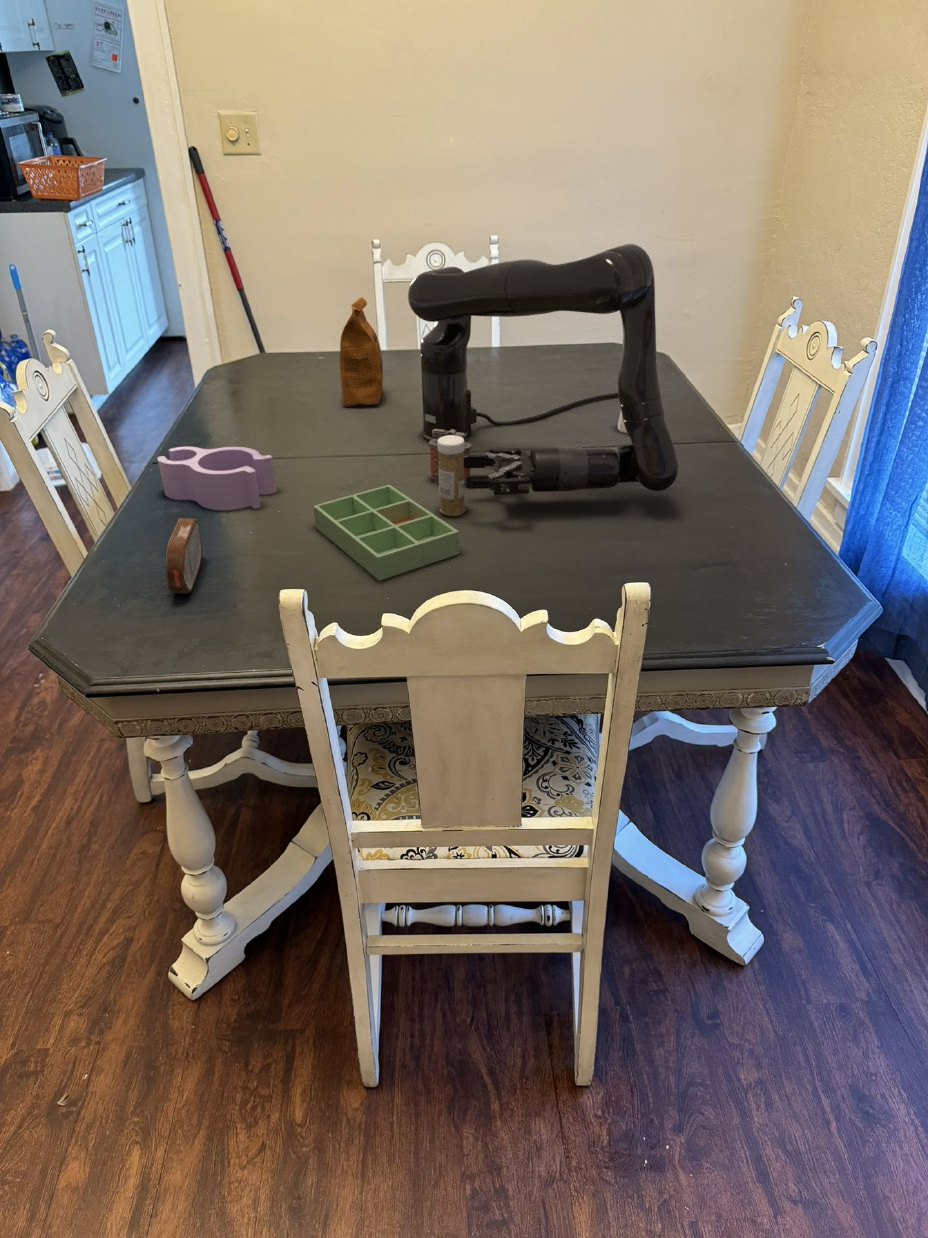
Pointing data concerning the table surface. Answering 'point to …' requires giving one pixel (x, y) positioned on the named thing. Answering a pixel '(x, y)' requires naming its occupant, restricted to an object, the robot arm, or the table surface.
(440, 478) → the sprinkles bottle
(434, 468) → the lighter
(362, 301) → the coffee package
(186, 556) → the tin
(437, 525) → the organizer
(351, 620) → the table surface
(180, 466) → the clip
